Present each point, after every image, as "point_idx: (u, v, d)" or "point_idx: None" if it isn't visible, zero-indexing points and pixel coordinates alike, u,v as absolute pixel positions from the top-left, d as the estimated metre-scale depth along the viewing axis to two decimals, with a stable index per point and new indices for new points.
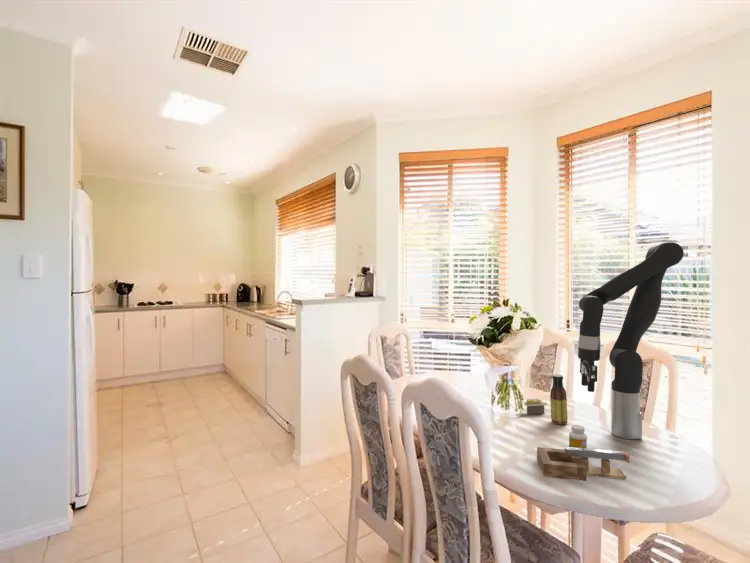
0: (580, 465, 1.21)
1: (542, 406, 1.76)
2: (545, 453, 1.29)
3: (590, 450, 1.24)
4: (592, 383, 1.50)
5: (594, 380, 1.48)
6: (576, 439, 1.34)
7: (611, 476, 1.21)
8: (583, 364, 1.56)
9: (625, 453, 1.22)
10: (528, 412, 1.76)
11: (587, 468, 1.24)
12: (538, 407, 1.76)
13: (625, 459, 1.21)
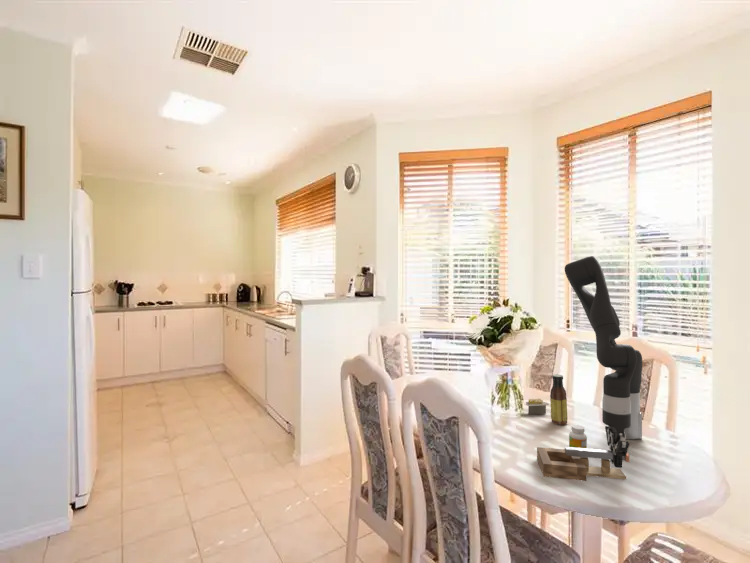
0: (580, 465, 1.21)
1: (544, 406, 1.76)
2: (545, 453, 1.29)
3: (590, 450, 1.24)
4: (619, 457, 1.20)
5: (622, 455, 1.19)
6: (576, 439, 1.34)
7: (611, 476, 1.21)
8: (609, 429, 1.24)
9: None
10: (530, 412, 1.76)
11: (587, 468, 1.24)
12: (540, 407, 1.76)
13: (625, 459, 1.21)
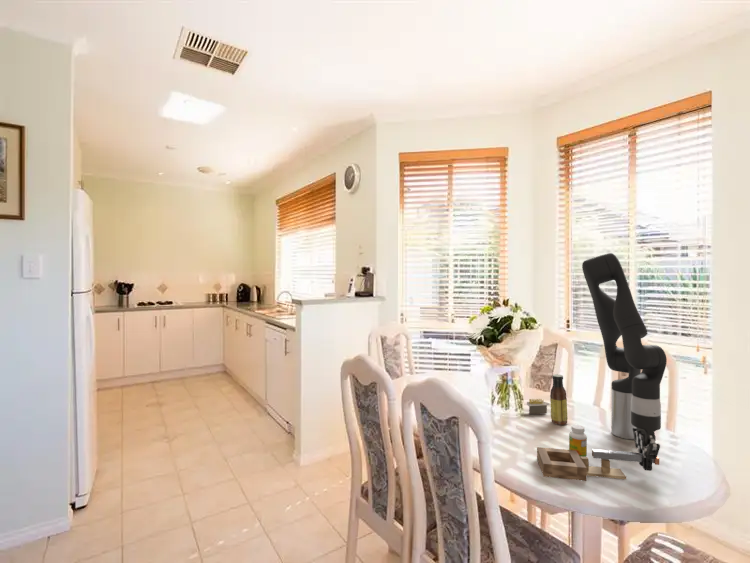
0: (580, 465, 1.21)
1: (545, 406, 1.76)
2: (545, 453, 1.29)
3: (618, 452, 1.22)
4: (649, 460, 1.19)
5: (652, 457, 1.17)
6: (576, 439, 1.34)
7: (611, 476, 1.21)
8: (638, 431, 1.22)
9: None
10: (530, 412, 1.76)
11: (587, 468, 1.24)
12: (540, 407, 1.76)
13: (655, 462, 1.19)
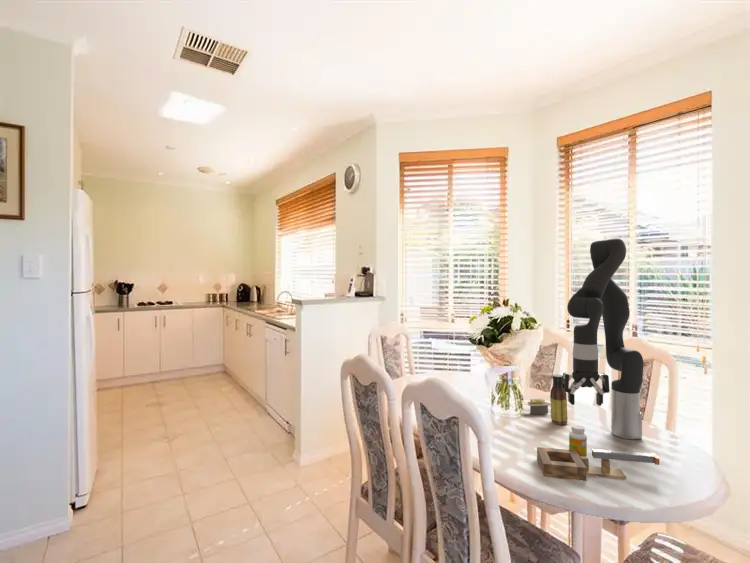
0: (580, 465, 1.21)
1: (546, 406, 1.76)
2: (545, 453, 1.29)
3: (618, 452, 1.22)
4: (569, 394, 1.34)
5: (563, 389, 1.34)
6: (576, 439, 1.34)
7: (611, 476, 1.21)
8: None
9: (654, 455, 1.20)
10: (531, 412, 1.76)
11: (587, 468, 1.24)
12: (542, 407, 1.76)
13: (655, 462, 1.19)
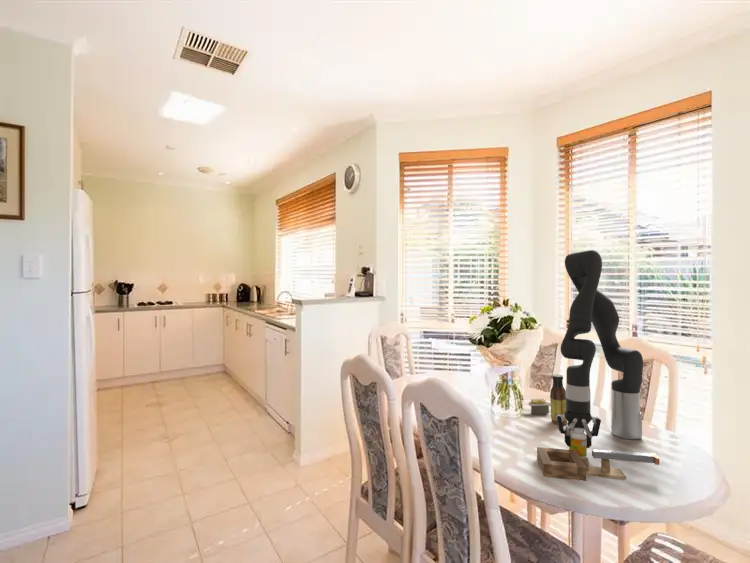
0: (580, 465, 1.21)
1: (547, 406, 1.76)
2: (545, 453, 1.29)
3: (618, 452, 1.22)
4: (565, 435, 1.37)
5: (559, 430, 1.37)
6: (576, 439, 1.34)
7: (611, 476, 1.21)
8: None
9: (654, 455, 1.20)
10: (532, 412, 1.76)
11: (587, 468, 1.24)
12: (542, 407, 1.76)
13: (655, 462, 1.19)
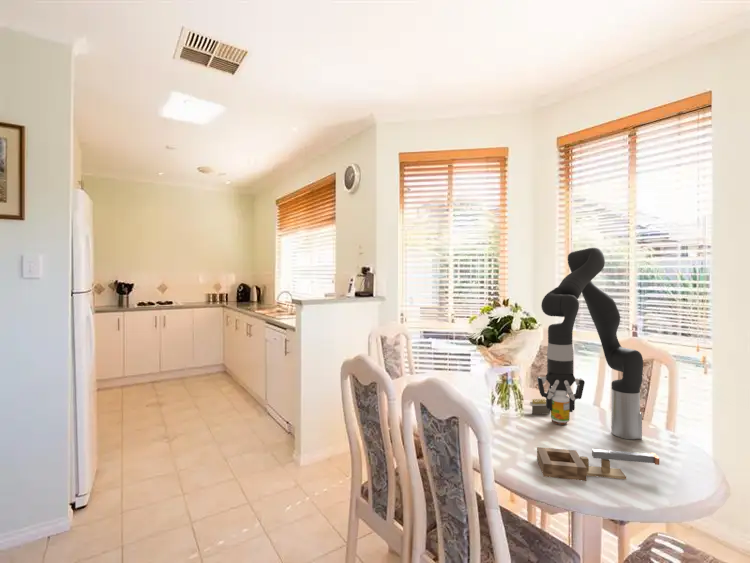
0: (580, 465, 1.21)
1: None
2: (545, 453, 1.29)
3: (618, 452, 1.22)
4: (546, 399, 1.27)
5: None
6: (558, 402, 1.24)
7: (611, 476, 1.21)
8: None
9: (654, 455, 1.20)
10: (533, 412, 1.76)
11: (587, 468, 1.24)
12: (544, 407, 1.76)
13: (655, 462, 1.19)
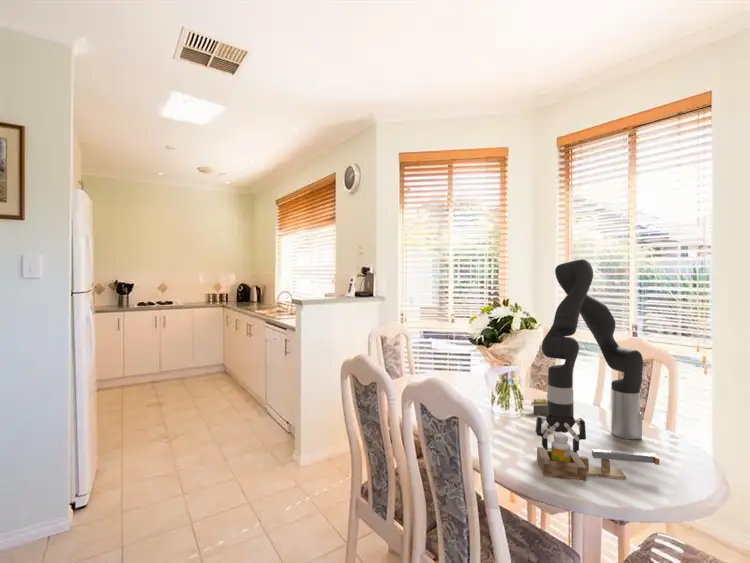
0: (580, 465, 1.21)
1: None
2: (545, 453, 1.29)
3: (618, 452, 1.22)
4: (542, 438, 1.28)
5: None
6: (559, 449, 1.24)
7: (611, 476, 1.21)
8: None
9: (654, 455, 1.20)
10: (535, 412, 1.76)
11: (587, 468, 1.24)
12: (545, 407, 1.76)
13: (655, 462, 1.19)
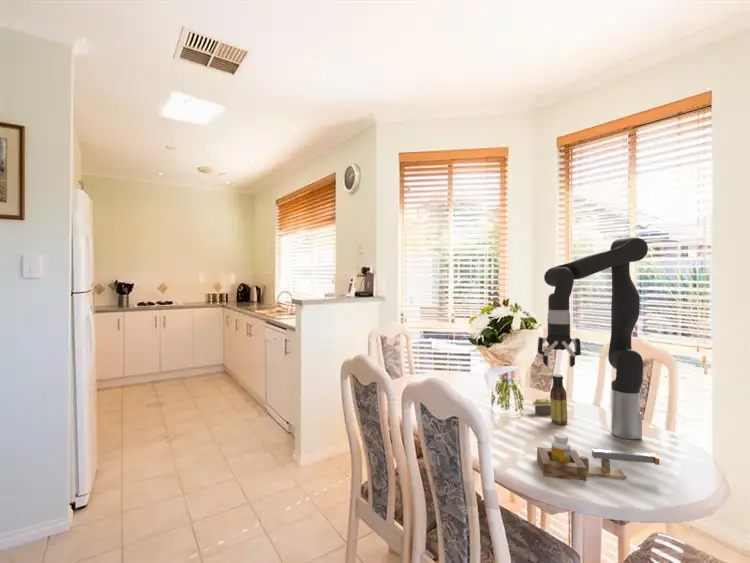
0: (580, 465, 1.21)
1: None
2: (545, 453, 1.29)
3: (618, 452, 1.22)
4: (543, 356, 1.48)
5: (538, 351, 1.48)
6: (559, 449, 1.24)
7: (611, 476, 1.21)
8: None
9: (654, 455, 1.20)
10: (536, 412, 1.76)
11: (587, 468, 1.24)
12: (547, 407, 1.76)
13: (655, 462, 1.19)
